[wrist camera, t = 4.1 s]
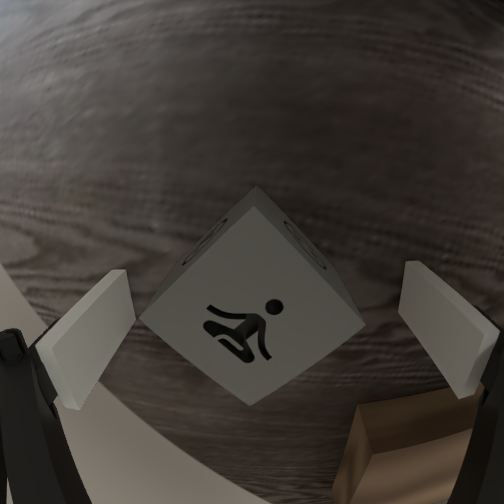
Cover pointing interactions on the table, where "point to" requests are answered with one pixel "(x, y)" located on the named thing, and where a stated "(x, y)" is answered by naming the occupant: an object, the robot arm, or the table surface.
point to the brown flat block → (406, 449)
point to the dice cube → (253, 302)
